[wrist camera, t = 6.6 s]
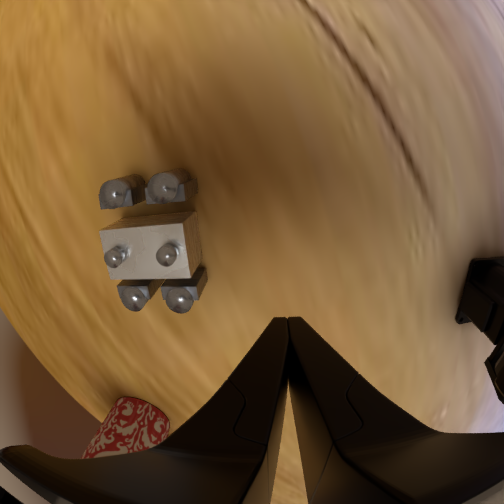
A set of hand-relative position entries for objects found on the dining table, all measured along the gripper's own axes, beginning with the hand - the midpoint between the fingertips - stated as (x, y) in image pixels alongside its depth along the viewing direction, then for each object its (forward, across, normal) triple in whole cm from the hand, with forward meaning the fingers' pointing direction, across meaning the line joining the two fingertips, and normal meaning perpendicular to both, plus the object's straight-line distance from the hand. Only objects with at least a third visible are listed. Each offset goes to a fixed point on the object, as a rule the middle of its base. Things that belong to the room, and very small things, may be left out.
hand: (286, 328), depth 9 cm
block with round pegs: (+12, +8, 0) cm, 14 cm away
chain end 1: (+12, +10, 0) cm, 15 cm away
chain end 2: (+12, +6, 0) cm, 13 cm away
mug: (+12, +16, +24) cm, 31 cm away
